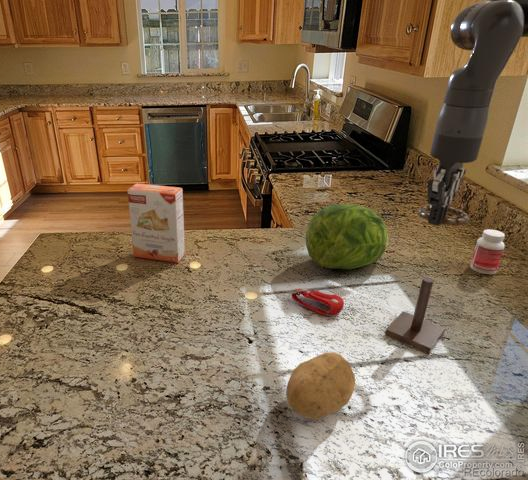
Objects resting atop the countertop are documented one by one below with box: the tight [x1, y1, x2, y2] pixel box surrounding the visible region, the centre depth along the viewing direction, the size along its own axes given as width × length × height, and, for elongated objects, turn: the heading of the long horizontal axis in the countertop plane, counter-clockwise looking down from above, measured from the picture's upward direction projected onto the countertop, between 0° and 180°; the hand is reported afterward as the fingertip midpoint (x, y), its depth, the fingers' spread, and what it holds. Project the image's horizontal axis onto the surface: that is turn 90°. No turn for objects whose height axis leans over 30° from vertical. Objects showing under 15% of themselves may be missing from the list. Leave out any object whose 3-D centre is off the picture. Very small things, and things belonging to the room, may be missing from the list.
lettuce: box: [305, 203, 389, 270], centre depth 115 cm, size 18×23×19 cm
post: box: [384, 276, 446, 355], centre depth 87 cm, size 9×9×14 cm
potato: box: [285, 351, 356, 420], centre depth 71 cm, size 10×14×8 cm
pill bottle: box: [469, 228, 506, 275], centre depth 112 cm, size 6×6×11 cm
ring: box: [417, 204, 470, 227], centre depth 84 cm, size 9×9×1 cm
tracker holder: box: [288, 288, 345, 316], centre depth 99 cm, size 12×4×10 cm
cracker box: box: [127, 182, 186, 264], centre depth 119 cm, size 14×6×21 cm, turn 73°
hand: (435, 222), depth 82 cm, fingers closed on ring, 1 cm apart
